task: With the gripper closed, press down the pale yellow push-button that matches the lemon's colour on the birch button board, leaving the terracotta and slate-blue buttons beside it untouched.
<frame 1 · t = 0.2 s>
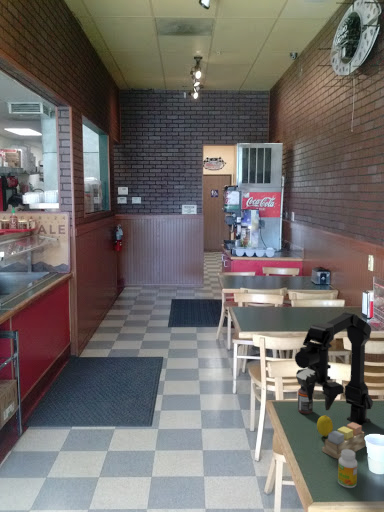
hand: (318, 404, 163), 14 cm above the table, tool pointing down, fingers open, 9 cm apart
button slate: (335, 439, 158), point 5 cm above the table, slide at 0.0 cm
button yellow: (345, 435, 161), point 5 cm above the table, slide at 0.0 cm
supplement bottle 2: (347, 483, 141), on the table
button terracotta: (353, 430, 164), point 5 cm above the table, slide at 0.0 cm
lemon: (324, 437, 170), on the table
button board: (344, 448, 161), on the table
supplement bottle: (305, 411, 191), on the table
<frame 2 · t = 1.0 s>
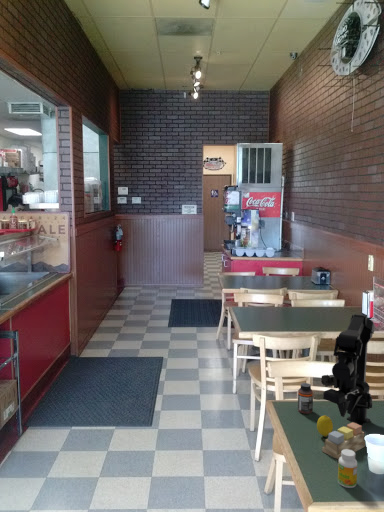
hand: (345, 415, 160), 12 cm above the table, tool pointing down, fingers open, 3 cm apart
nothing on the table moved.
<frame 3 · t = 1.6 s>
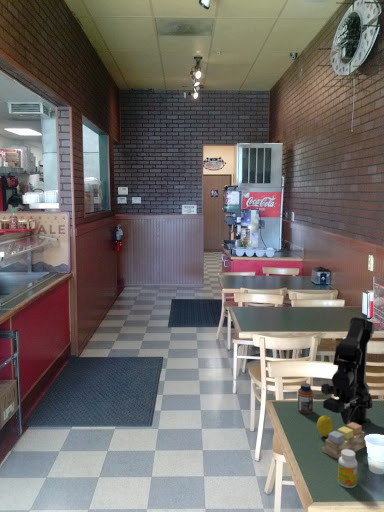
hand: (345, 423, 160), 9 cm above the table, tool pointing down, fingers closed
nothing on the table moved.
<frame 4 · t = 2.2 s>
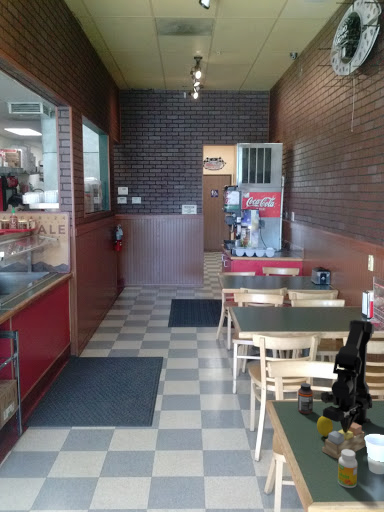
hand: (345, 432, 161), 6 cm above the table, tool pointing down, fingers closed, pressing on button yellow
button yellow: (345, 437, 161), point 4 cm above the table, slide at 0.8 cm, touching gripper
everything else where it was.
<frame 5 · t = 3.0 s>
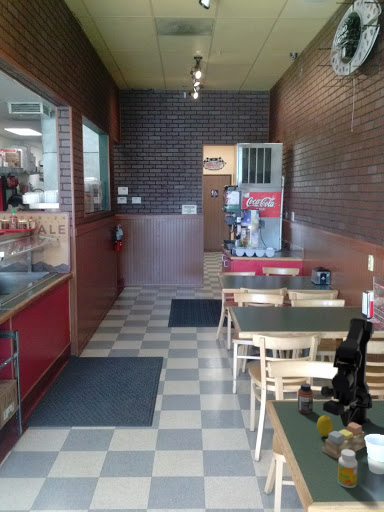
hand: (345, 426, 160), 8 cm above the table, tool pointing down, fingers closed
button yellow: (345, 438, 161), point 4 cm above the table, slide at 1.0 cm
everything else where it was.
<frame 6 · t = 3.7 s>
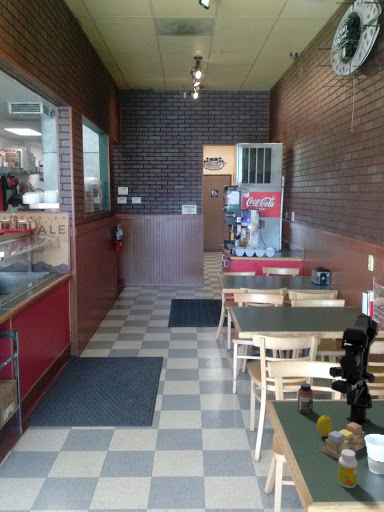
hand: (352, 404, 170), 12 cm above the table, tool pointing down, fingers closed
nothing on the table moved.
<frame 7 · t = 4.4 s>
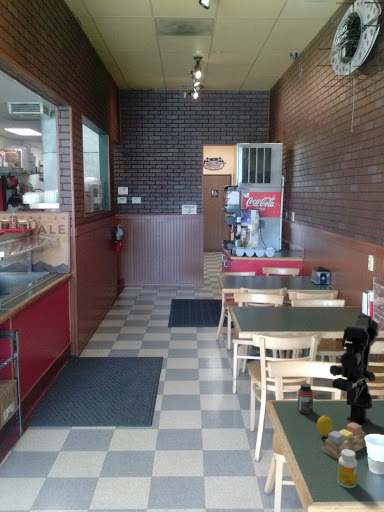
hand: (353, 402, 170), 12 cm above the table, tool pointing down, fingers closed
nothing on the table moved.
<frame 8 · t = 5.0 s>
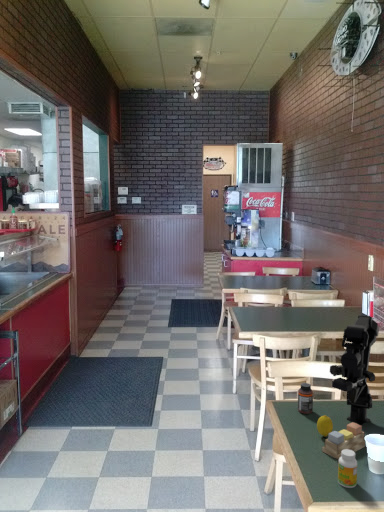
hand: (353, 402, 170), 12 cm above the table, tool pointing down, fingers closed
nothing on the table moved.
at the end: button yellow slide at 1.0 cm; button terracotta slide at 0.0 cm; button slate slide at 0.0 cm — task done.
